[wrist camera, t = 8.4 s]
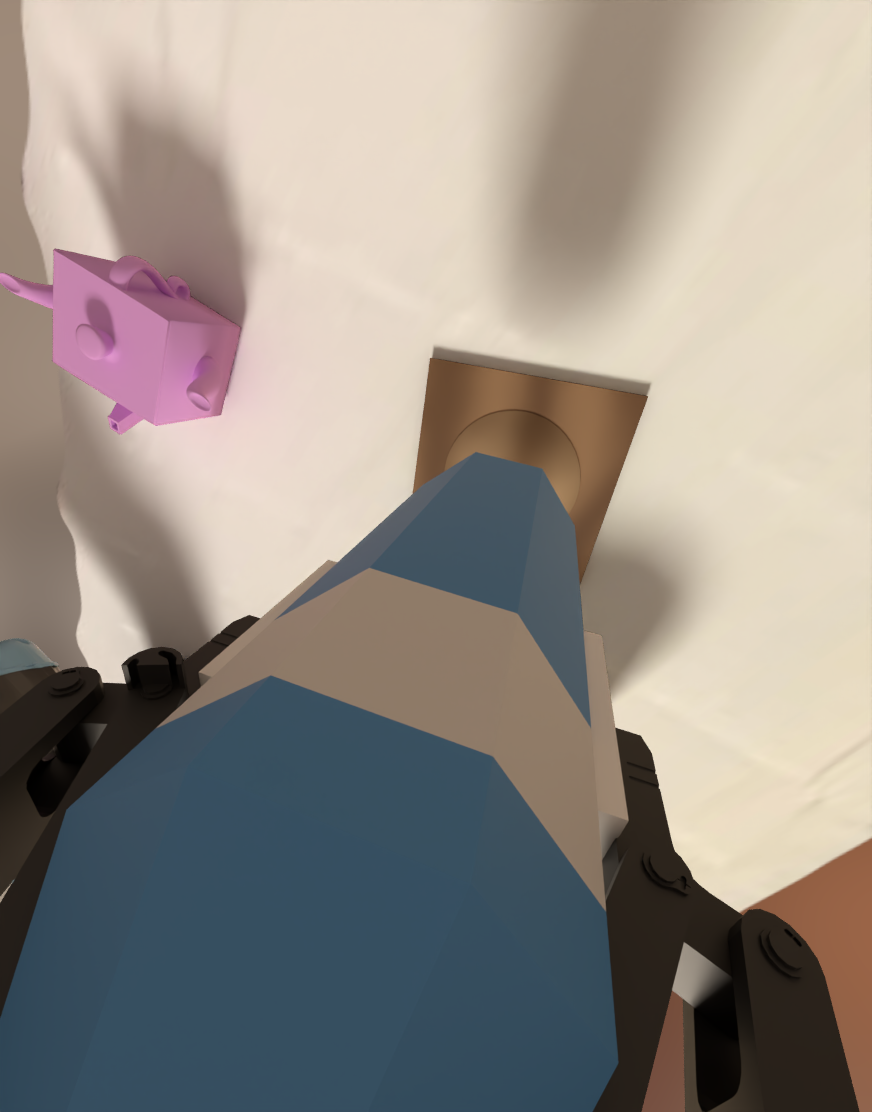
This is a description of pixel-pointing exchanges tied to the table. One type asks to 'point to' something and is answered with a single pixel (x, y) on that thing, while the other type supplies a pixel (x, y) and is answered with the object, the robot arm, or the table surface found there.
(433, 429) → the plate
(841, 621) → the table surface
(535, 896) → the water bottle
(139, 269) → the teapot
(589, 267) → the table surface
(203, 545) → the table surface
